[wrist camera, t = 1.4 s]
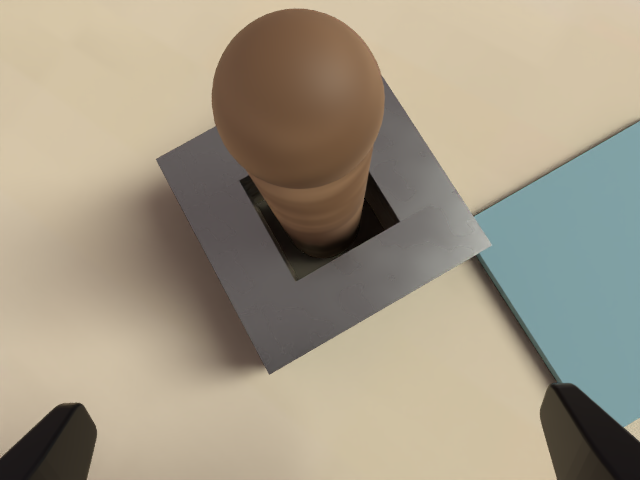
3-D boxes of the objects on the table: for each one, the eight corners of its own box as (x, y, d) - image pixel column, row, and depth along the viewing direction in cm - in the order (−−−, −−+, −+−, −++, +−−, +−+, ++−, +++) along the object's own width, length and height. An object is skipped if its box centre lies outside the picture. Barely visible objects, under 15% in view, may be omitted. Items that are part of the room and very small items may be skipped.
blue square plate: (592, 437, 21) (600, 441, 20) (457, 226, 22) (460, 224, 22) (798, 313, 21) (811, 312, 20) (648, 116, 23) (656, 111, 22)
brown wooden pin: (307, 274, 22) (246, 193, 8) (270, 207, 23) (153, 24, 9) (376, 235, 23) (434, 88, 8) (336, 170, 23) (327, -69, 9)
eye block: (282, 364, 22) (269, 374, 18) (187, 186, 23) (155, 159, 19) (465, 258, 22) (492, 245, 18) (359, 90, 24) (362, 45, 20)
